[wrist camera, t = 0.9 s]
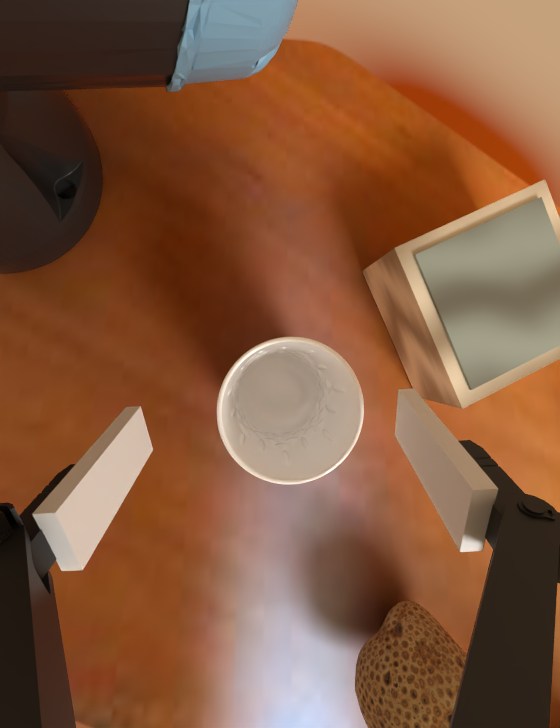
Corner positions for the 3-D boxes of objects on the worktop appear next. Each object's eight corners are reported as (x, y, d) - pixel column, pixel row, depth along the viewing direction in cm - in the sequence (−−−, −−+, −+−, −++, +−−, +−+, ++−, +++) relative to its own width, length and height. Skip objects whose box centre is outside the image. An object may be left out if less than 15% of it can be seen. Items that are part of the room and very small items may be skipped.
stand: (362, 271, 27) (396, 246, 21) (481, 216, 28) (548, 177, 22) (416, 396, 28) (464, 409, 22) (530, 339, 29) (608, 336, 23)
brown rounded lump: (366, 696, 28) (430, 880, 18) (321, 614, 28) (362, 760, 18) (450, 642, 29) (556, 791, 19) (409, 561, 28) (496, 673, 18)
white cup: (229, 437, 26) (218, 489, 16) (227, 343, 26) (214, 337, 16) (321, 433, 27) (364, 480, 17) (320, 342, 27) (363, 335, 17)
